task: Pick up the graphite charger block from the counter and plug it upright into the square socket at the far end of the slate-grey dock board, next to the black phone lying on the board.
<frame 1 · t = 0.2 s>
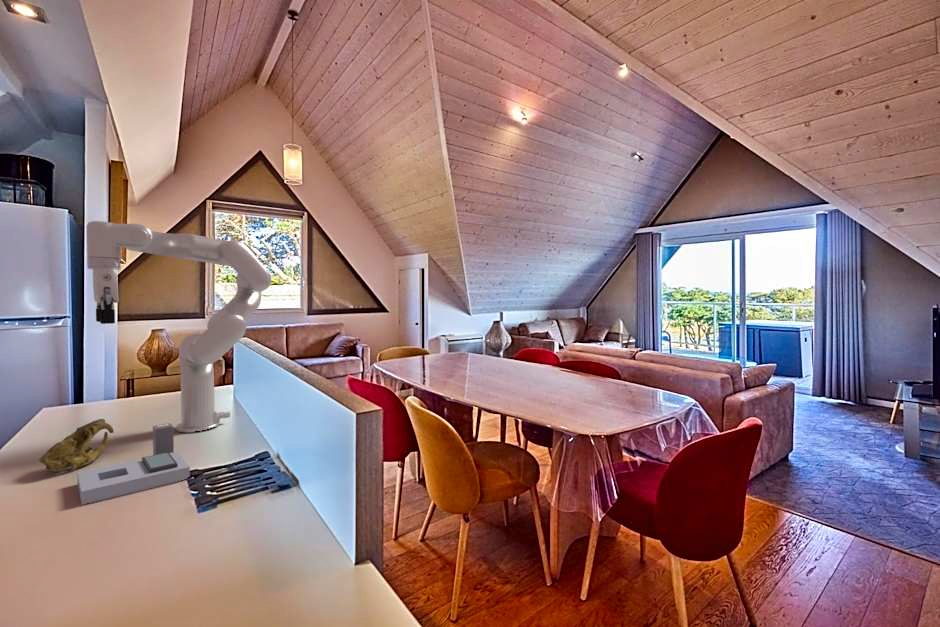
hand: (105, 322, 131), 36 cm above the worktop, tool pointing down, fingers open, 9 cm apart
dock board: (134, 481, 107), on the worktop
charger: (163, 458, 122), on the worktop
animal skull: (79, 466, 115), on the worktop
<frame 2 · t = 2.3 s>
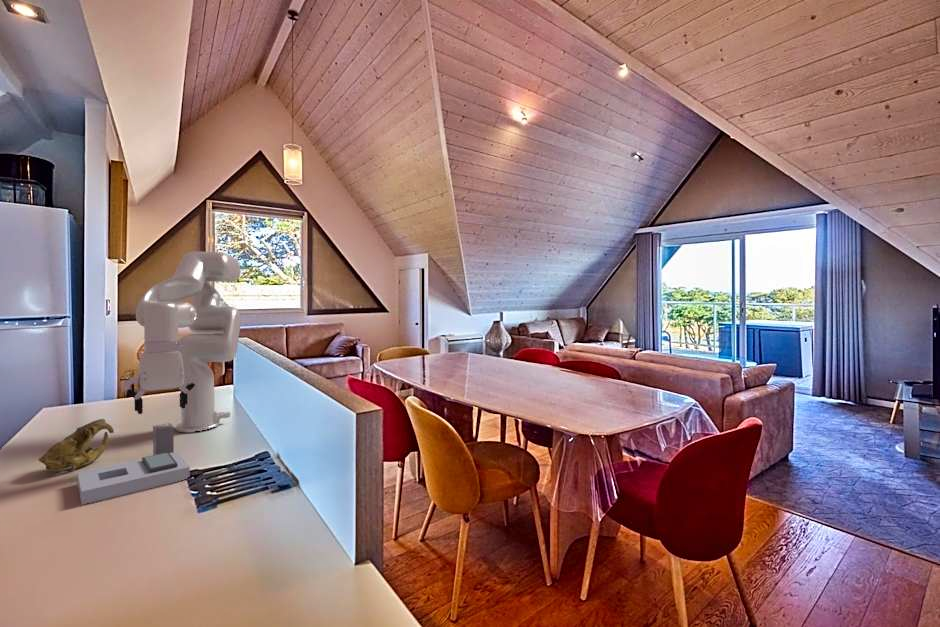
hand: (161, 410, 120), 14 cm above the worktop, tool pointing down, fingers open, 9 cm apart
nothing on the worktop moved.
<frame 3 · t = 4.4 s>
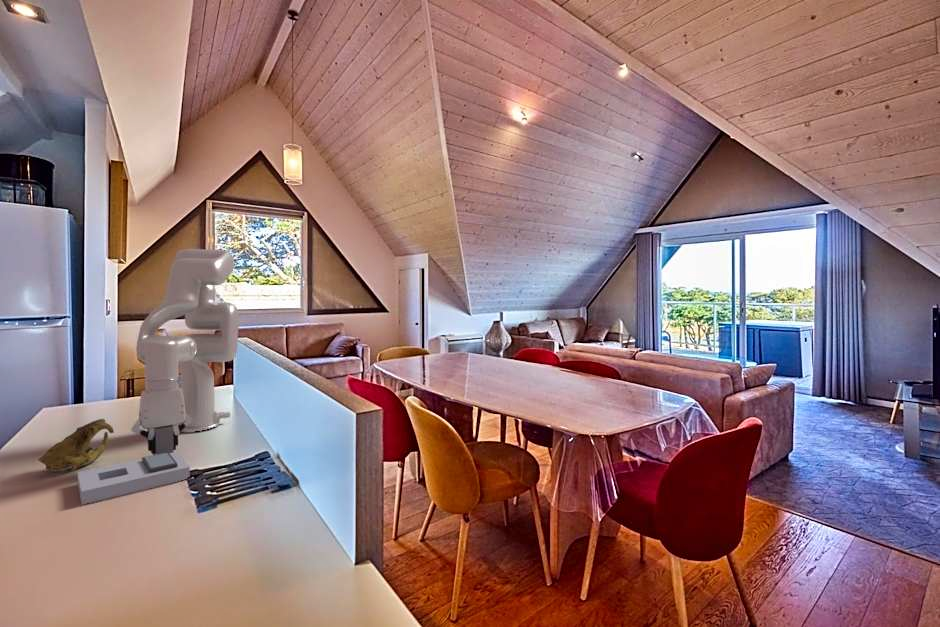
hand: (163, 450, 121), 2 cm above the worktop, tool pointing down, fingers closed on charger, 4 cm apart
charger: (163, 458, 122), on the worktop, touching gripper
everything else where it was.
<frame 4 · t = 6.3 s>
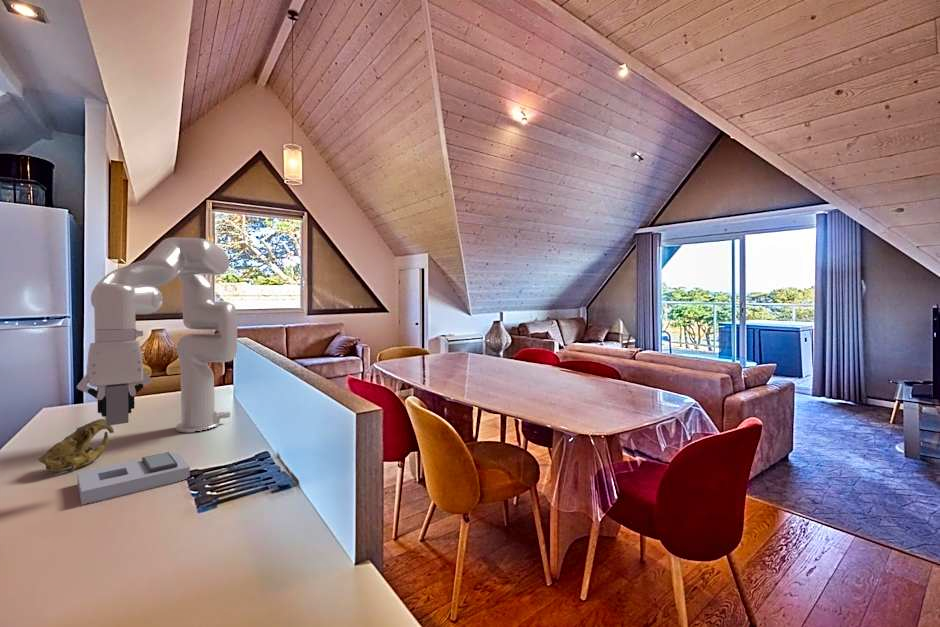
hand: (116, 413, 104), 17 cm above the worktop, tool pointing down, fingers closed on charger, 4 cm apart
charger: (116, 422, 104), point 15 cm above the worktop, touching gripper
everything else where it was.
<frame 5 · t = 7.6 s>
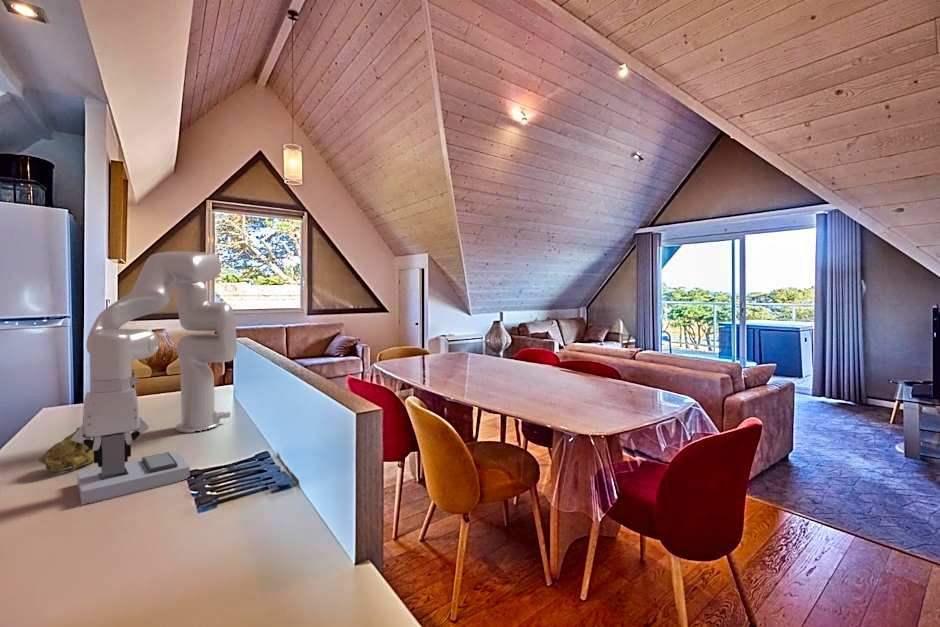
hand: (112, 462, 104), 6 cm above the worktop, tool pointing down, fingers closed on charger, 4 cm apart
charger: (112, 471, 104), point 4 cm above the worktop, touching gripper
everything else where it was.
when the fingers open (4 cm above the worktop, at t = 8.6 s): charger drops 1 cm, resting on dock board.
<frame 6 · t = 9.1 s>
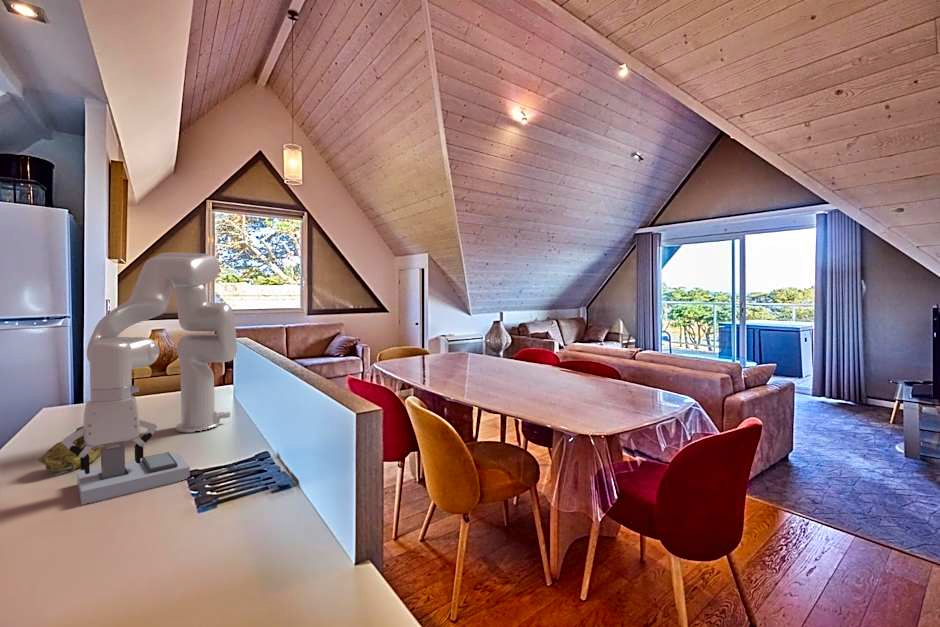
hand: (113, 466, 104), 5 cm above the worktop, tool pointing down, fingers open, 9 cm apart
charger: (113, 485, 104), resting on dock board
everything else where it was.
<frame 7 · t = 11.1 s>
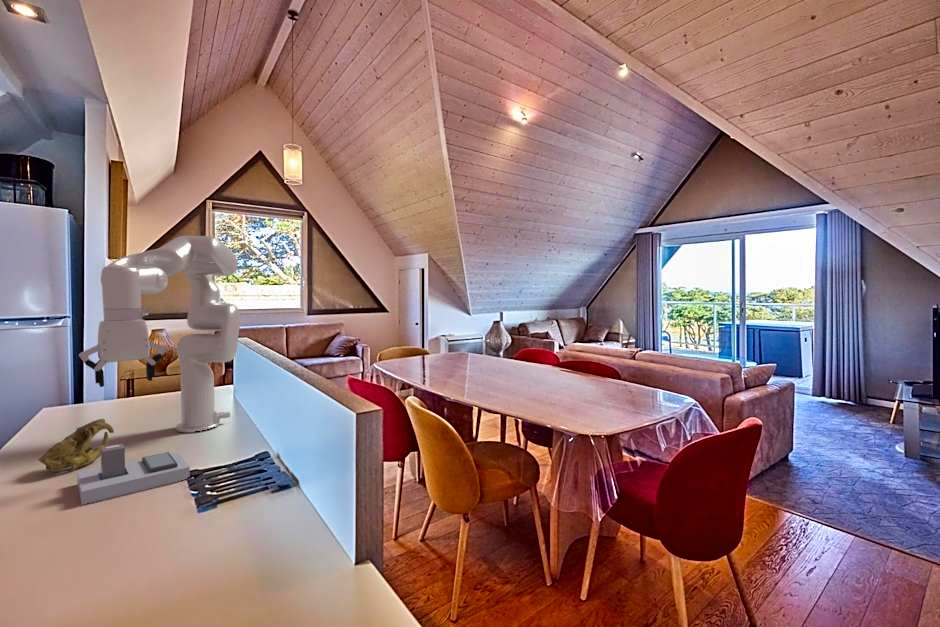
hand: (126, 382, 112), 23 cm above the worktop, tool pointing down, fingers open, 9 cm apart
nothing on the worktop moved.
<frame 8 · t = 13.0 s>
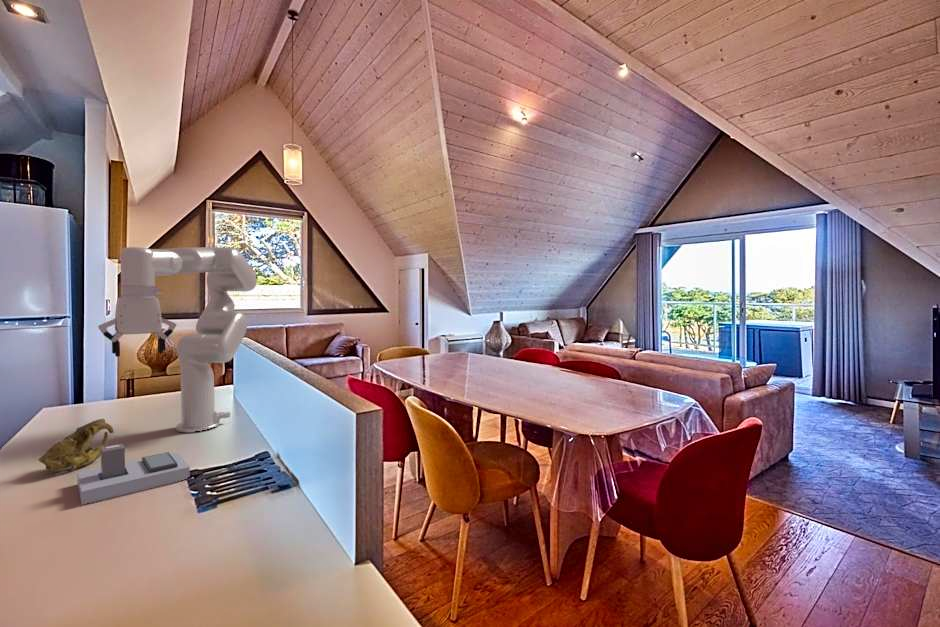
hand: (139, 354, 122), 28 cm above the worktop, tool pointing down, fingers open, 9 cm apart
nothing on the worktop moved.
at the end: charger 0.0 cm from the target spot on the dock board, point 0.3 cm above the dock board's base; charger tilted 0°; the gripper is holding nothing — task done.
